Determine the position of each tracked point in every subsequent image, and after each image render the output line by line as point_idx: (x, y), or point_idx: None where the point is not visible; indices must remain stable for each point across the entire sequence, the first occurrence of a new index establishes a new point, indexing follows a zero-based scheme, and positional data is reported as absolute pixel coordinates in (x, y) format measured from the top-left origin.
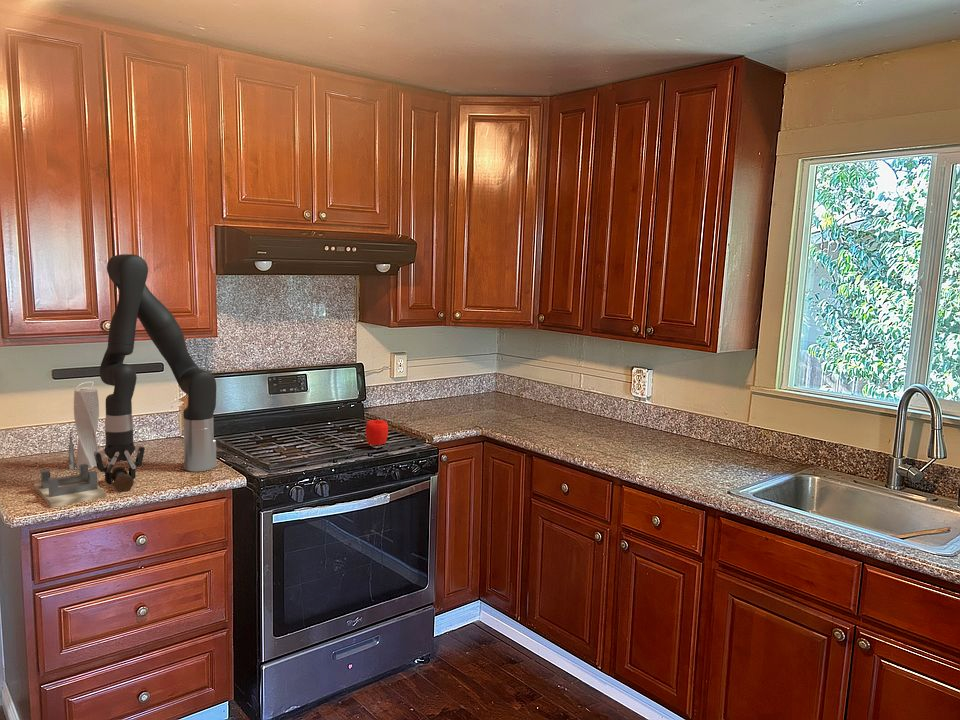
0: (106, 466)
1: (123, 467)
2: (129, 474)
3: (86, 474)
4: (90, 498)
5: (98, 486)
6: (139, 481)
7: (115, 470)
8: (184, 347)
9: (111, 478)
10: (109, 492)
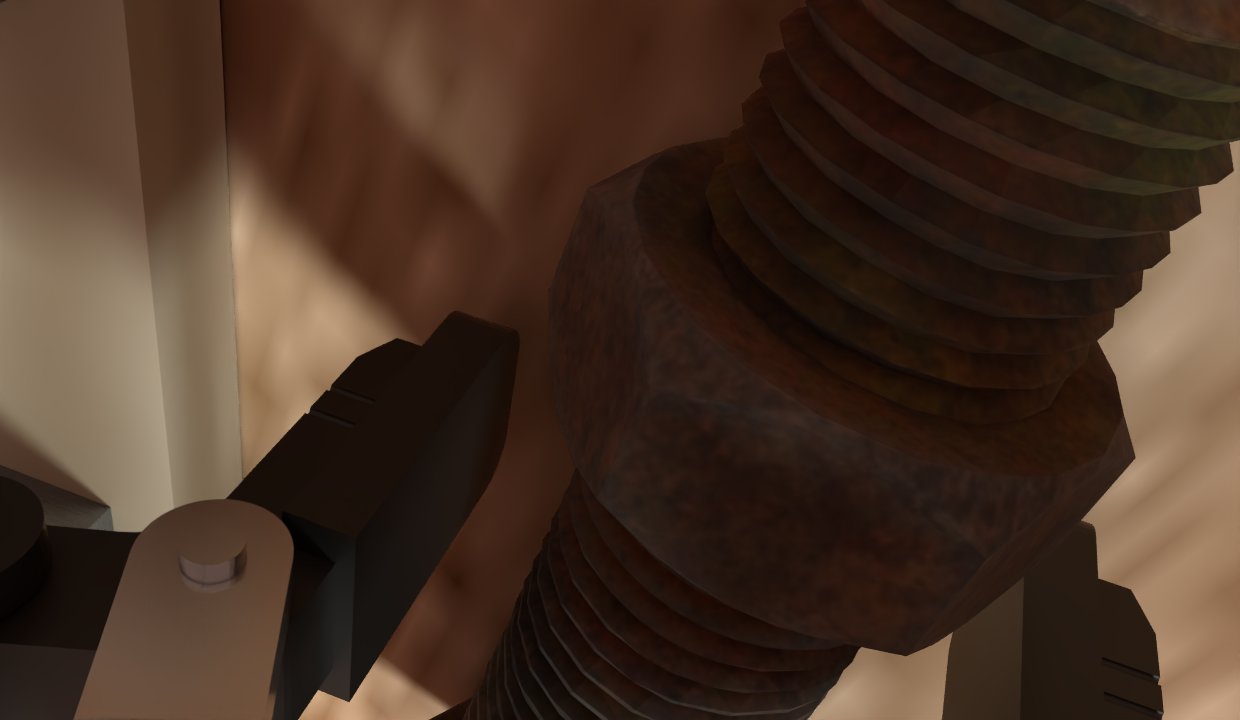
0: (135, 678)
1: (975, 571)
2: (992, 660)
3: None
4: None
5: (163, 511)
6: (1222, 610)
7: (613, 506)
8: None
9: (421, 576)
10: None
